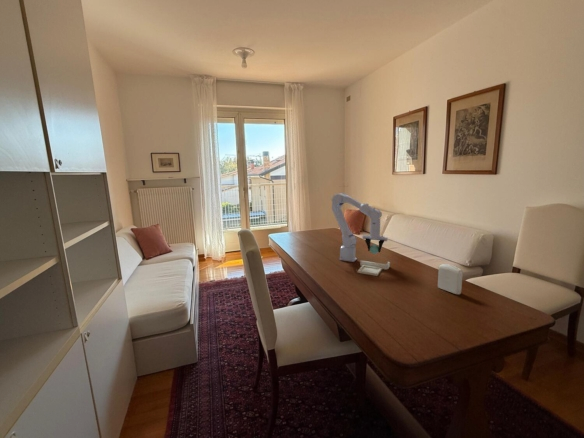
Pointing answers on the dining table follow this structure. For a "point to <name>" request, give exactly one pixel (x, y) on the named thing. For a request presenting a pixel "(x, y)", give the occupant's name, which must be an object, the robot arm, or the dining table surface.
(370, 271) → the white tray
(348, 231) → the robot arm
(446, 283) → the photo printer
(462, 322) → the dining table surface
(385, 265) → the wall
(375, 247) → the ball
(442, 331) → the dining table surface
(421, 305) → the dining table surface
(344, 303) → the dining table surface
